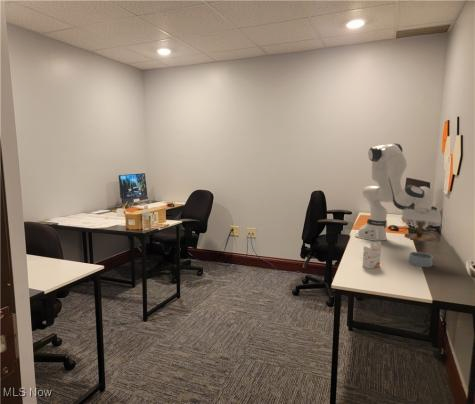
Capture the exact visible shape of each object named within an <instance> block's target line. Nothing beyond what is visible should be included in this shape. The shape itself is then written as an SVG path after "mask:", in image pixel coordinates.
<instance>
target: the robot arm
mask: <svg viewBox="0 0 475 404" xmlns="http://www.w3.org/2000/svg"><path fill="white" fill-rule="evenodd" d="M403 153H404V152H403V147H402V145H401V143H400V144H399V143H386V144H381V145H376V146H372V147H370V148H369V150H368V154H367V155H368V159H369V160H370V161H371V178H372V180H373V181H374V182H375V183H377V185H368V186H367V185H366V186H365V187H364V188H363V191H362V196H363V198H364V199H365V200H366V201H367V202H368V205H369V208H370V216H369V217H370V218H369V217H368V218H367V220H366V223H365V224H363V225H362V226H361V227H359V229H358V231H357V233H355V234H354V237H355V238H358V239H363V240H370V241H374V242H379V241H386V240H388V238H387V230H386V229H387V225H388V220H387V215H388V211H387V210H388V209H386V207H385V206H383V205H382V203H381V202H384V203H392V204H393V205H394V206H395V207H396V208H397V209H399V210H402V216H401V221H402V222H404V223H411V224H412V225H413V226H414V230H417V229H418V222H421V223H423V227H422V231H426V228H427V227H428V226H435V227H436V226H437V227H440V226H441V225H442V214H441V213H440V208H439V207H436V206H435V205H434V206H433V205H432V202H433V191H432V190H431V188H430V187H428V186H425V185H424V186H417V185H413V184H408V185H406V186H404V188H402V184H401V180H402V176H403V174H404V172H406V171H405V170H406V168H407V159H406V157H405V155H404V154H403ZM412 204H414V207H413V208H409V207H410V206H411V205H412Z"/></svg>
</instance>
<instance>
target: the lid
mask: <svg viewBox="0 0 475 404" xmlns="http://www.w3.org/2000/svg"><path fill="white" fill-rule="evenodd" d="M417 225H418V229H416V233H404V238H406V239H409V240H413V241H419V242H433V241H434V239H435V238H434V237H433V236H430V235H427V234H426V235H425V234H423V230H422V227H423V226H424V224H423V223H421V222H418V224H417Z"/></svg>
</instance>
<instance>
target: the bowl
mask: <svg viewBox="0 0 475 404" xmlns="http://www.w3.org/2000/svg"><path fill="white" fill-rule="evenodd" d="M433 261H434V255H431V253H430V254H429V253H427V252H426V253H425V252H420V251H417V252H416V251H412V252H409V256H408V263H409V264H411V265H414V266H416V267H422V268H430V267H433Z"/></svg>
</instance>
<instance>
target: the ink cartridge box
mask: <svg viewBox="0 0 475 404" xmlns="http://www.w3.org/2000/svg"><path fill="white" fill-rule="evenodd" d="M381 254H382V240H378V241H374V242H373V241H372V242H370V245H364V246H363V253H362V267H363V268H367V269H375V268H379V267H380V266H381Z"/></svg>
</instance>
